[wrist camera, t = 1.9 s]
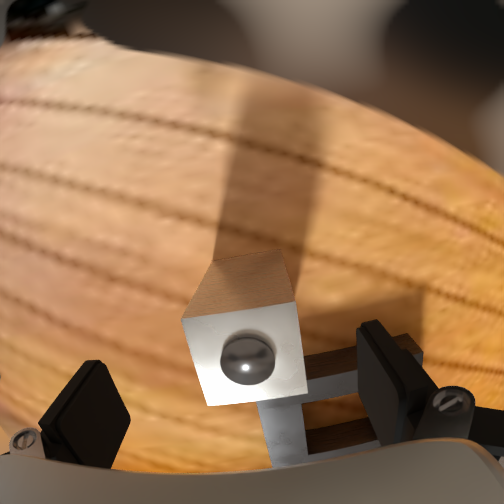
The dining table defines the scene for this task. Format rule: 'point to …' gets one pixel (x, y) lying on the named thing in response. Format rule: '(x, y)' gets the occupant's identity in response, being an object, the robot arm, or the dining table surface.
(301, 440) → the rail
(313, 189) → the dining table surface
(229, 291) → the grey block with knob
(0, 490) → the robot arm
